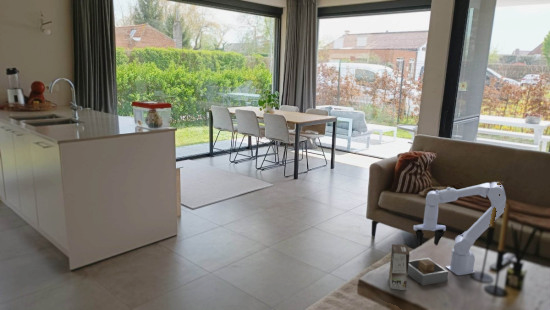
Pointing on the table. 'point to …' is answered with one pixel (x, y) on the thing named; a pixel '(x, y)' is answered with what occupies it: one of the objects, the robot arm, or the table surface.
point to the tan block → (426, 266)
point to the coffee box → (399, 267)
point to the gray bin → (430, 278)
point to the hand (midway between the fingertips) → (427, 244)
